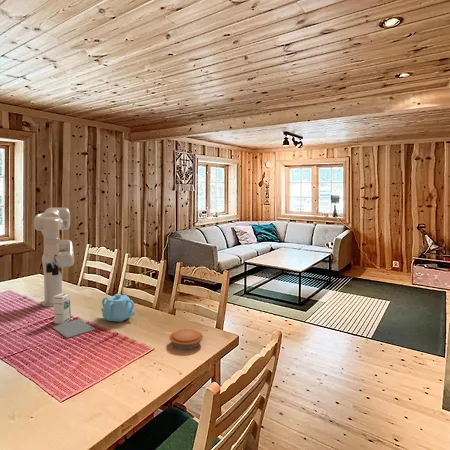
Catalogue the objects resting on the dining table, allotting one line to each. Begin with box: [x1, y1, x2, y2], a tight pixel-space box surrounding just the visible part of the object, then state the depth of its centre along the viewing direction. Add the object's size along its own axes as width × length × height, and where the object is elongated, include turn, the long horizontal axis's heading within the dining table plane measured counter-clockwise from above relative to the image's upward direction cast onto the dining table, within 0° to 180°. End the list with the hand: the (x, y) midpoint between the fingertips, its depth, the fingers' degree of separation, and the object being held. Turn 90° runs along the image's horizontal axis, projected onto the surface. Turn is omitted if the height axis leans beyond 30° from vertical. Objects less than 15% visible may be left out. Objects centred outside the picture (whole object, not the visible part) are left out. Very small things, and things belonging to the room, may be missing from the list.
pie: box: [169, 328, 204, 350], centre depth 155 cm, size 15×16×5 cm
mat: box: [51, 318, 96, 339], centre depth 167 cm, size 18×14×1 cm
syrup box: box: [53, 292, 72, 325], centre depth 175 cm, size 6×6×14 cm
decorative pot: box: [100, 293, 136, 323], centre depth 182 cm, size 16×16×14 cm
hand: (52, 273), depth 181 cm, fingers open, 6 cm apart
